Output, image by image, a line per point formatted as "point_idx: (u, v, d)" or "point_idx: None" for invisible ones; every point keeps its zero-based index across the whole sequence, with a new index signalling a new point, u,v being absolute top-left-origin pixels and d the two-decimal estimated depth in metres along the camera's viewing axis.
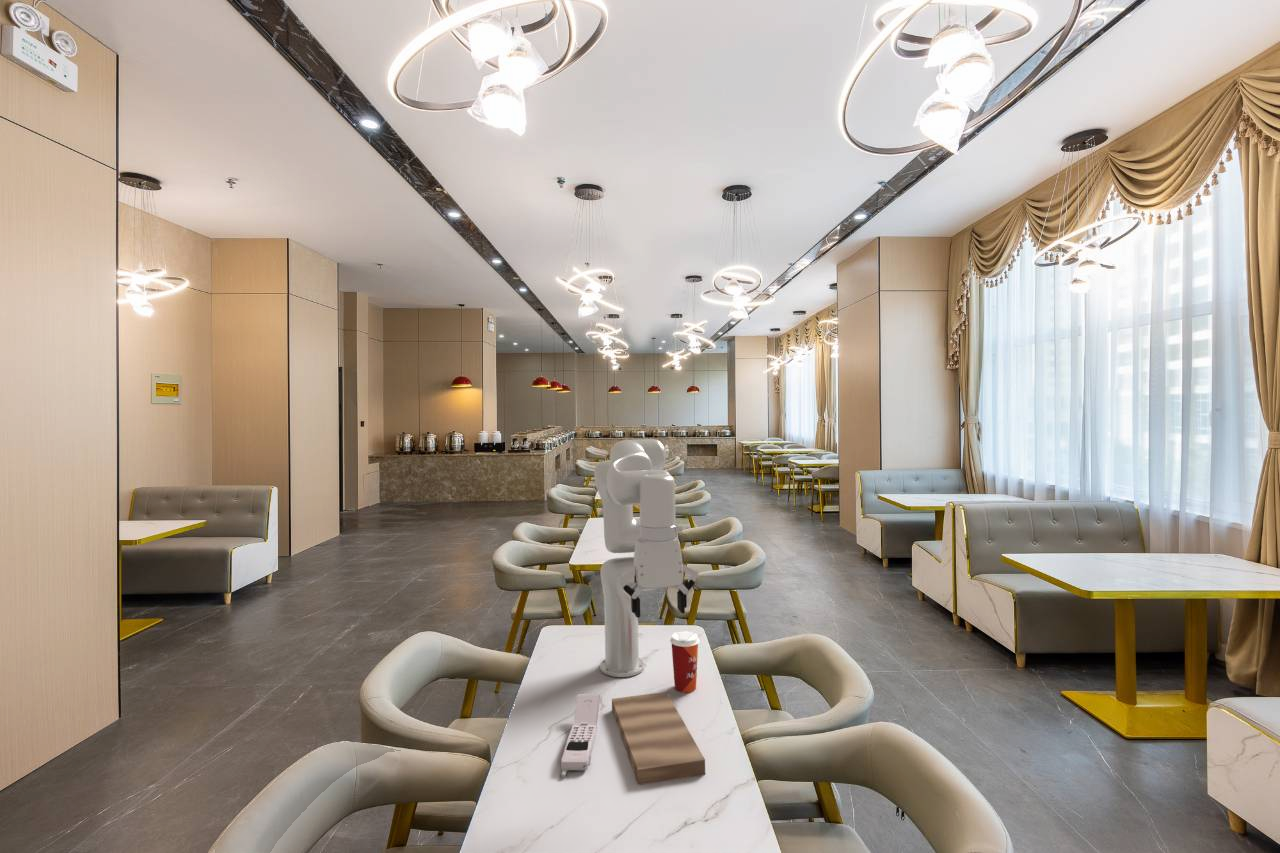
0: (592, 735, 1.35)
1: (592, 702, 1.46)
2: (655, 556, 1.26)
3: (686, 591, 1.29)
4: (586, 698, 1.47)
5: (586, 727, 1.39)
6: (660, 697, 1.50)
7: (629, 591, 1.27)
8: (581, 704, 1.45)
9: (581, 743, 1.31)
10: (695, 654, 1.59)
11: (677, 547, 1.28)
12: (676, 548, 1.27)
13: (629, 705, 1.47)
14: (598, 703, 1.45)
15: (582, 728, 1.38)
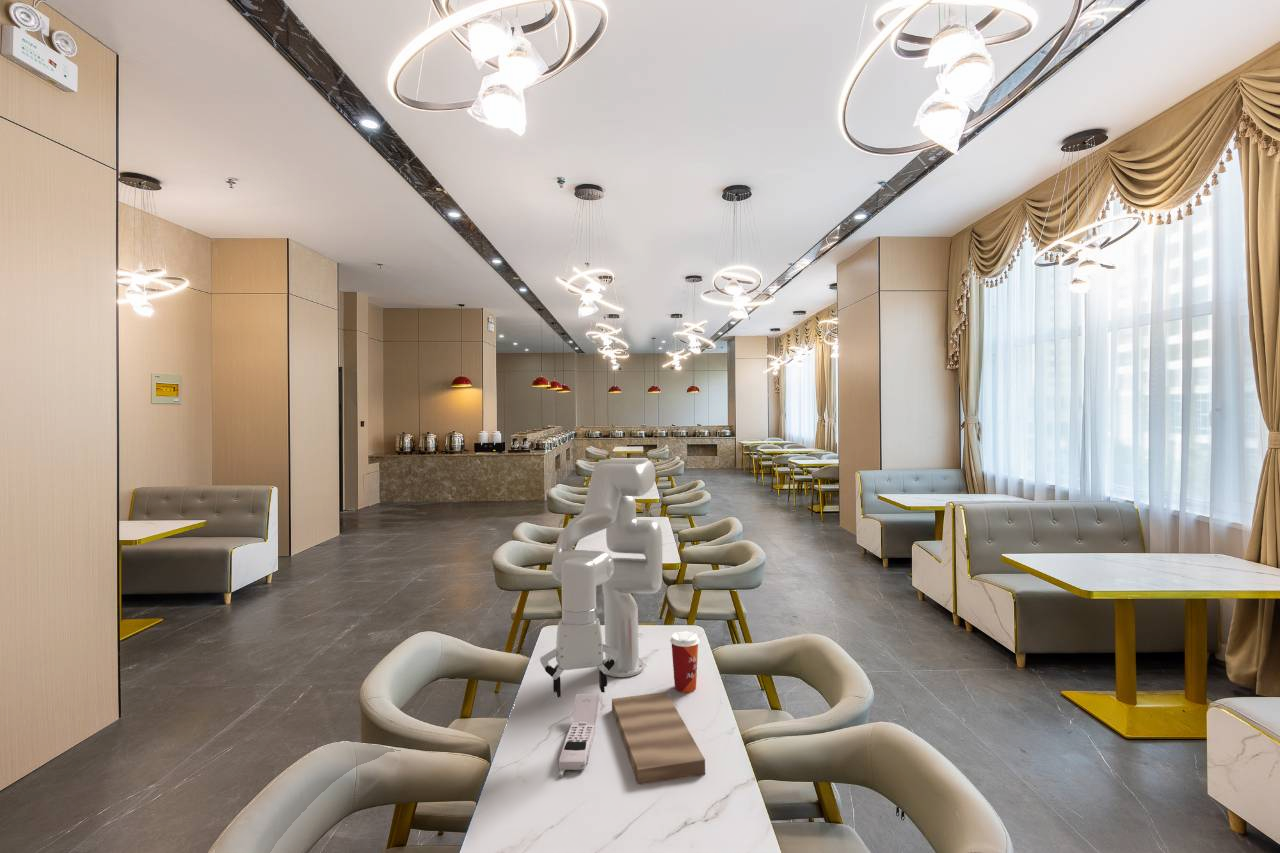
0: (590, 735, 1.35)
1: (590, 702, 1.46)
2: (574, 639, 1.32)
3: (606, 671, 1.35)
4: (585, 698, 1.47)
5: (584, 727, 1.39)
6: (660, 697, 1.50)
7: (550, 672, 1.33)
8: (580, 704, 1.46)
9: (579, 743, 1.31)
10: (695, 654, 1.59)
11: (597, 629, 1.33)
12: (596, 630, 1.33)
13: (629, 705, 1.47)
14: (597, 703, 1.45)
15: (580, 728, 1.39)
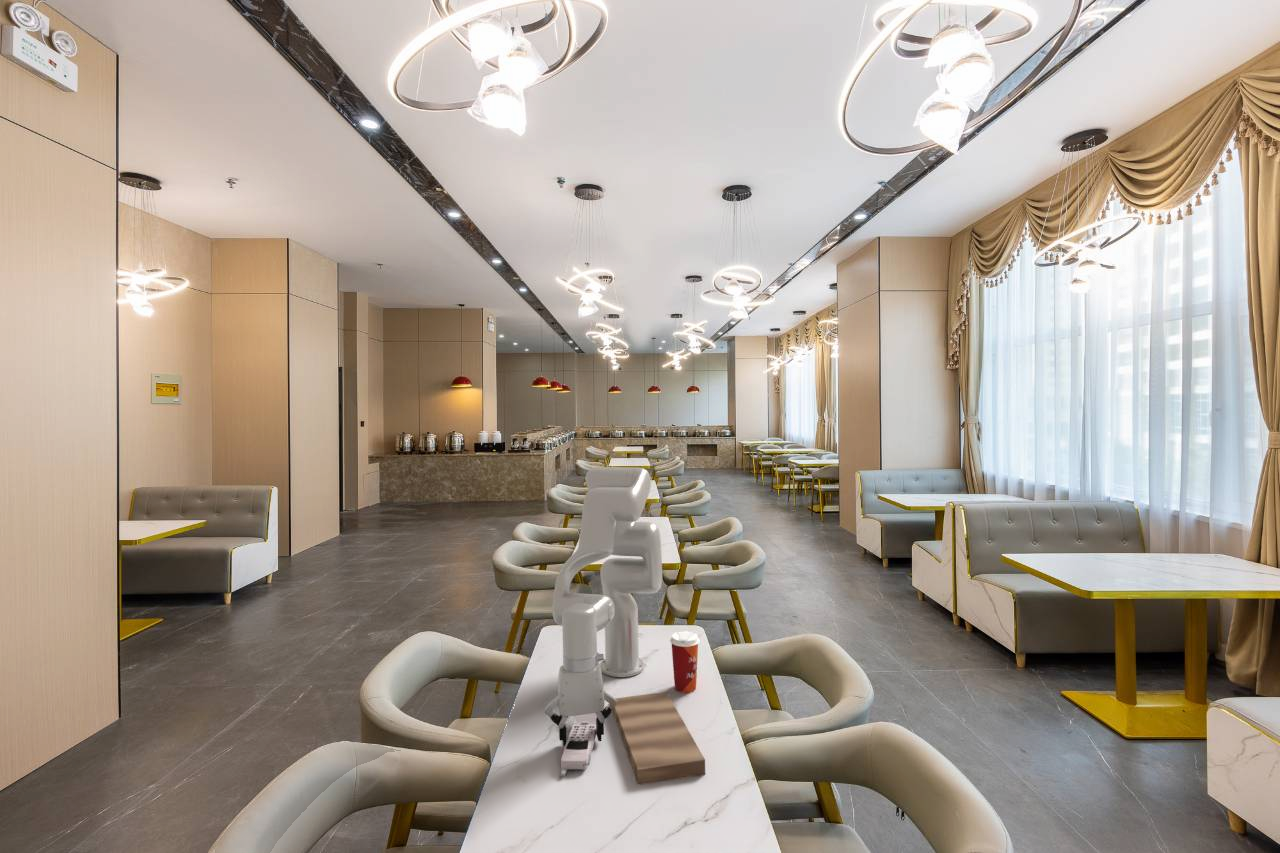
0: (592, 734, 1.35)
1: None
2: (575, 686, 1.32)
3: (603, 720, 1.35)
4: None
5: (587, 726, 1.39)
6: (660, 697, 1.50)
7: (556, 721, 1.33)
8: None
9: (581, 742, 1.31)
10: (695, 654, 1.59)
11: (598, 676, 1.34)
12: (597, 677, 1.34)
13: (629, 705, 1.47)
14: None
15: (583, 727, 1.39)
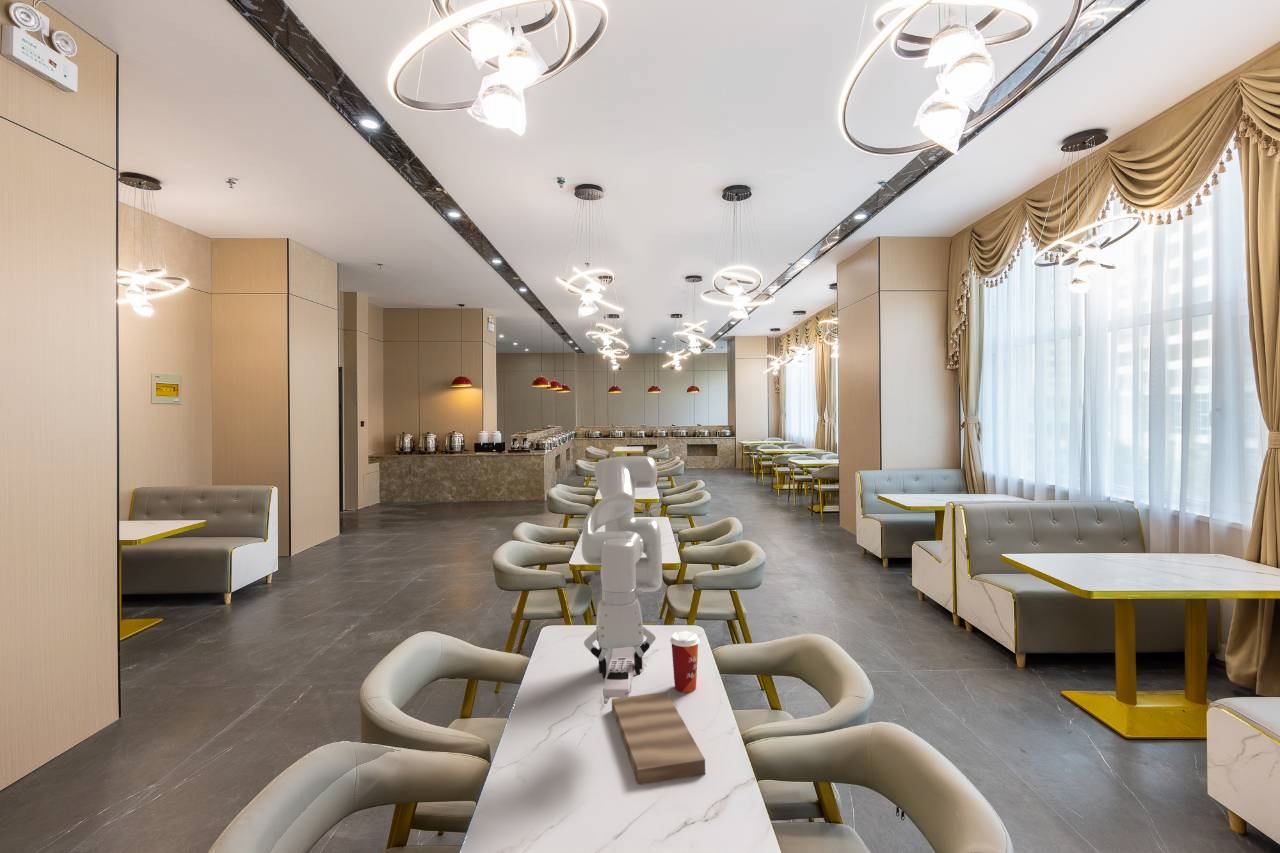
0: (631, 667, 1.36)
1: None
2: (615, 619, 1.33)
3: (641, 654, 1.36)
4: None
5: (624, 661, 1.39)
6: (660, 697, 1.50)
7: (596, 653, 1.34)
8: None
9: (621, 673, 1.32)
10: (695, 654, 1.59)
11: (637, 609, 1.34)
12: (636, 610, 1.34)
13: (629, 705, 1.47)
14: None
15: (620, 662, 1.39)
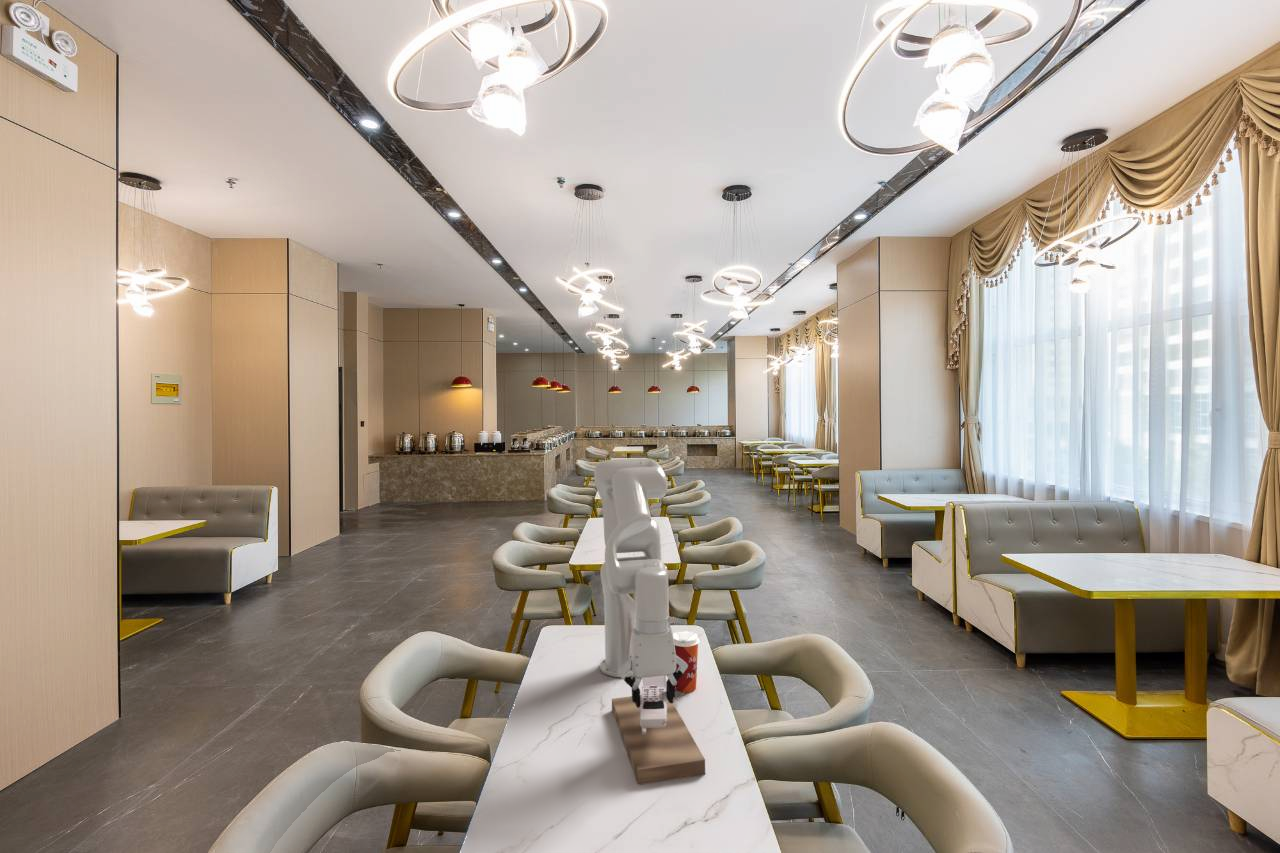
0: (664, 696, 1.36)
1: None
2: (649, 648, 1.34)
3: (674, 682, 1.37)
4: None
5: (656, 689, 1.40)
6: None
7: (630, 682, 1.35)
8: None
9: (656, 702, 1.32)
10: (695, 654, 1.59)
11: (670, 638, 1.35)
12: (669, 639, 1.35)
13: (629, 705, 1.47)
14: None
15: (652, 690, 1.40)
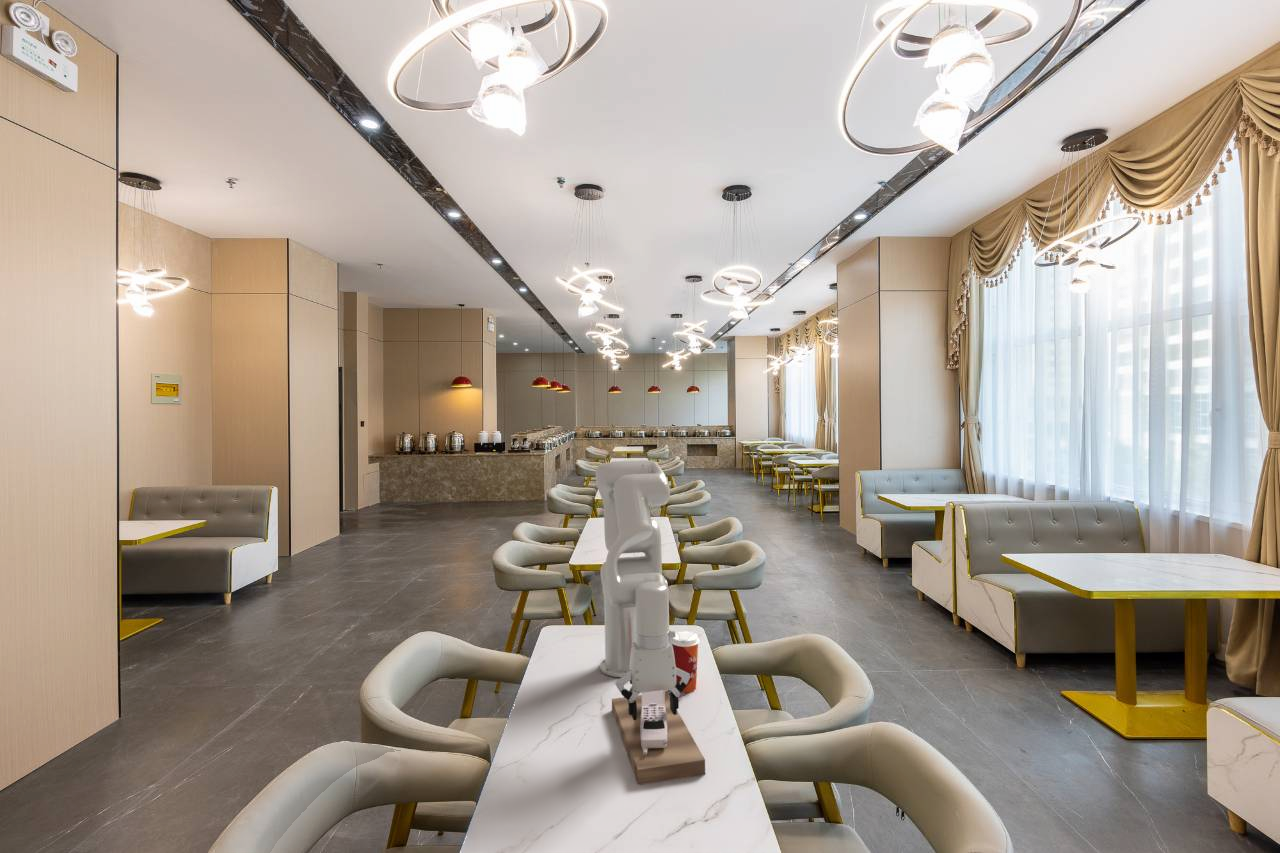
0: (664, 715, 1.37)
1: None
2: (649, 663, 1.34)
3: (678, 694, 1.37)
4: None
5: (656, 707, 1.41)
6: None
7: (626, 695, 1.35)
8: None
9: (657, 722, 1.33)
10: (695, 654, 1.59)
11: (670, 653, 1.35)
12: (669, 654, 1.35)
13: None
14: None
15: (652, 708, 1.40)
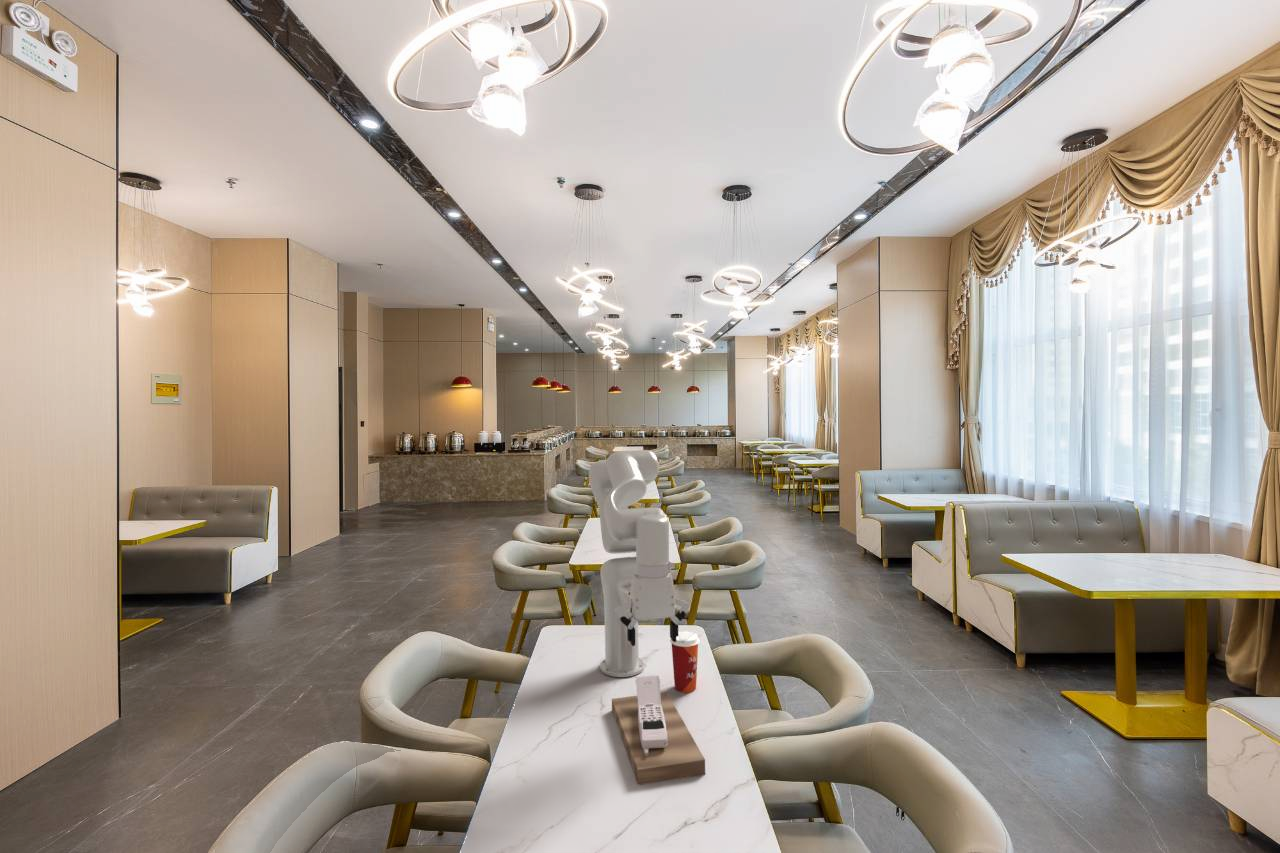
0: (662, 714, 1.37)
1: (651, 684, 1.48)
2: (649, 591, 1.37)
3: (678, 622, 1.41)
4: (645, 680, 1.48)
5: (652, 707, 1.41)
6: None
7: (625, 622, 1.39)
8: (641, 686, 1.47)
9: (655, 722, 1.33)
10: (695, 654, 1.59)
11: (670, 582, 1.39)
12: (669, 583, 1.39)
13: (629, 705, 1.47)
14: (658, 684, 1.47)
15: (649, 709, 1.40)
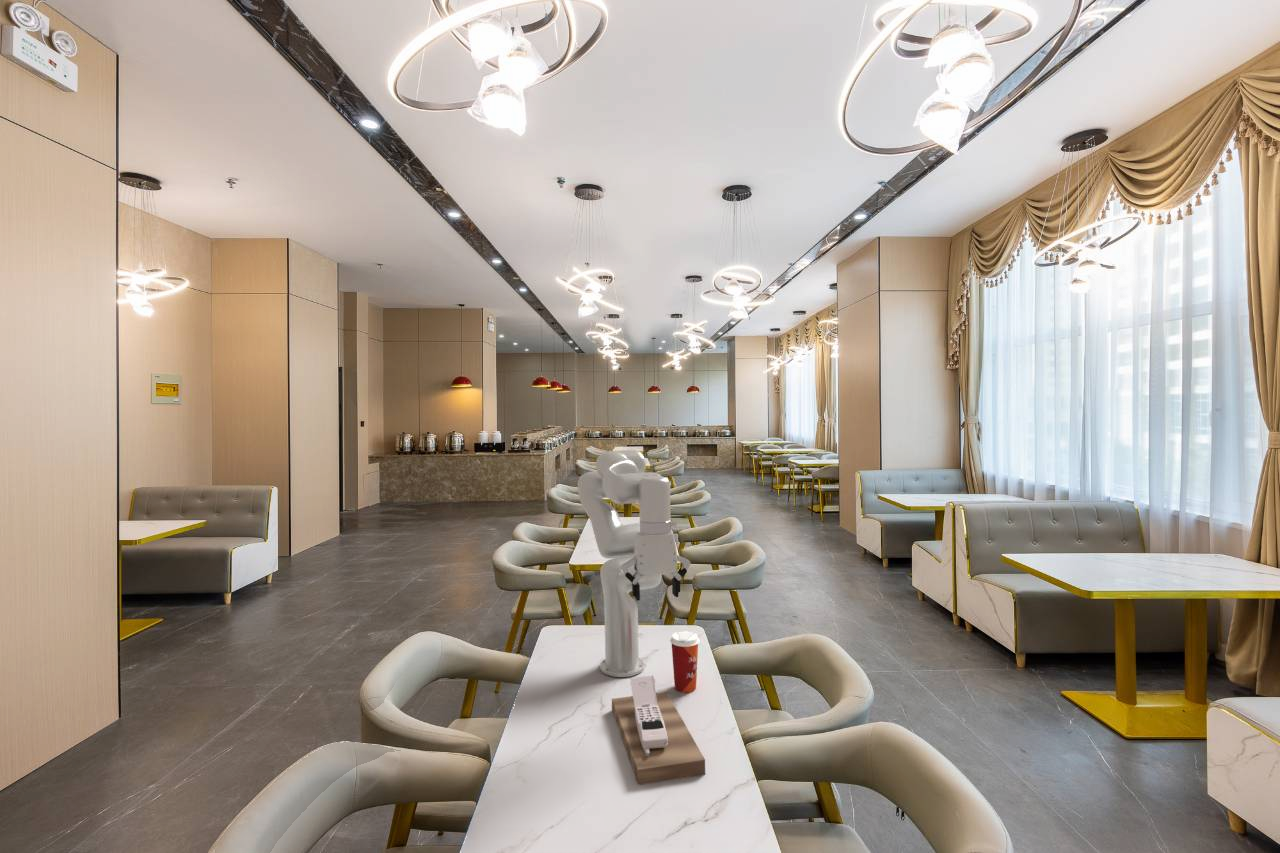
0: (660, 714, 1.37)
1: (646, 684, 1.48)
2: (652, 548, 1.46)
3: (680, 578, 1.49)
4: (640, 681, 1.48)
5: (649, 708, 1.41)
6: (660, 697, 1.50)
7: (630, 578, 1.46)
8: (637, 687, 1.47)
9: (654, 722, 1.33)
10: (695, 654, 1.59)
11: (672, 539, 1.47)
12: (671, 540, 1.47)
13: (629, 705, 1.47)
14: (653, 684, 1.47)
15: (646, 709, 1.40)
